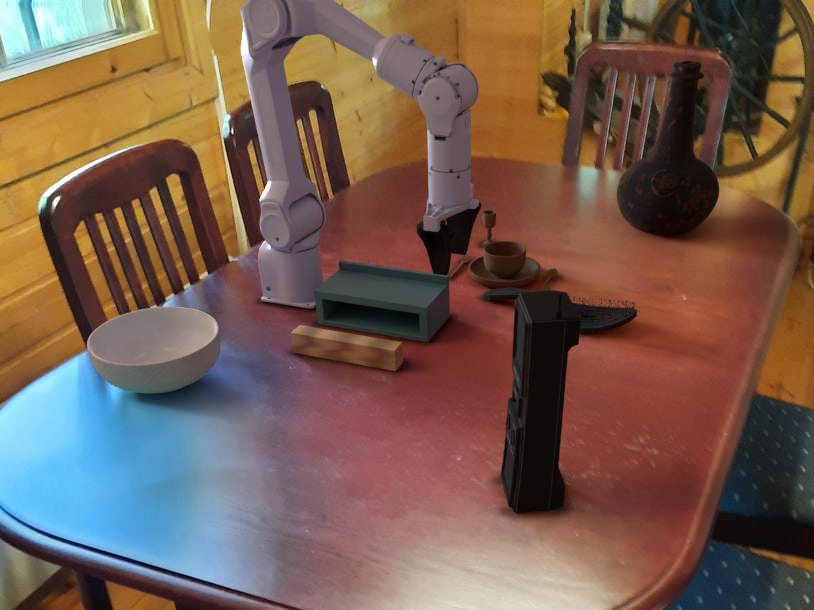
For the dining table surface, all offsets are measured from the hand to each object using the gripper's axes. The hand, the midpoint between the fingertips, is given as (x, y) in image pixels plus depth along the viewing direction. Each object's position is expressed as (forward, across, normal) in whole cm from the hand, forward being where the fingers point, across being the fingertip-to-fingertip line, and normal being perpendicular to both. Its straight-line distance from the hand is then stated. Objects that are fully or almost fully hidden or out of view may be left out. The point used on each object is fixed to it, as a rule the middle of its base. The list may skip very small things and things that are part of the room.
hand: (450, 263), depth 122 cm
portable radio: (+10, -35, -22) cm, 43 cm away
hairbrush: (+10, +9, -14) cm, 19 cm away
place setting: (+10, +24, -2) cm, 26 cm away
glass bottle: (+10, +51, -23) cm, 57 cm away
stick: (+10, -14, +10) cm, 20 cm away
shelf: (+10, -1, +10) cm, 14 cm away
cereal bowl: (+10, -28, +32) cm, 43 cm away
